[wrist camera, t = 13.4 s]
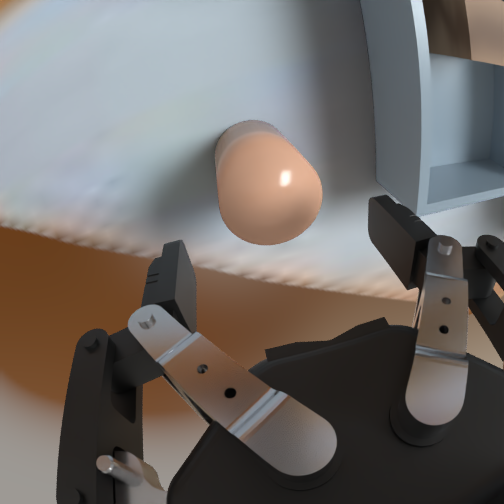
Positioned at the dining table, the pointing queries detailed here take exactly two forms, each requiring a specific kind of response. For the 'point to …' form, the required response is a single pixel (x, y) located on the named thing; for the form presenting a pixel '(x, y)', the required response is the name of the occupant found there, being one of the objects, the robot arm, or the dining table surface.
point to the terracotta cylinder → (264, 184)
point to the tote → (432, 114)
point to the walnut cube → (466, 29)
